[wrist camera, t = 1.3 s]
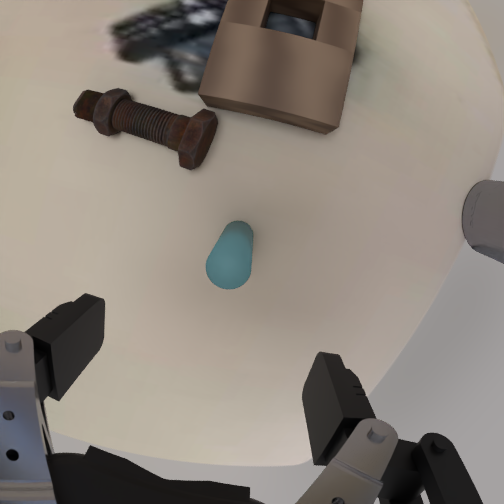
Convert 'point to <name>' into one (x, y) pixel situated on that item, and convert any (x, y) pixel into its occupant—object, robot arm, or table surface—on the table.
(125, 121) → the bolt
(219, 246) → the teal peg
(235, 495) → the robot arm
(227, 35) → the walnut hole block
